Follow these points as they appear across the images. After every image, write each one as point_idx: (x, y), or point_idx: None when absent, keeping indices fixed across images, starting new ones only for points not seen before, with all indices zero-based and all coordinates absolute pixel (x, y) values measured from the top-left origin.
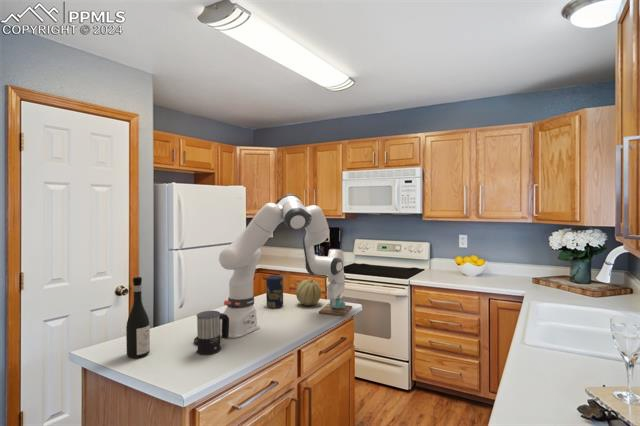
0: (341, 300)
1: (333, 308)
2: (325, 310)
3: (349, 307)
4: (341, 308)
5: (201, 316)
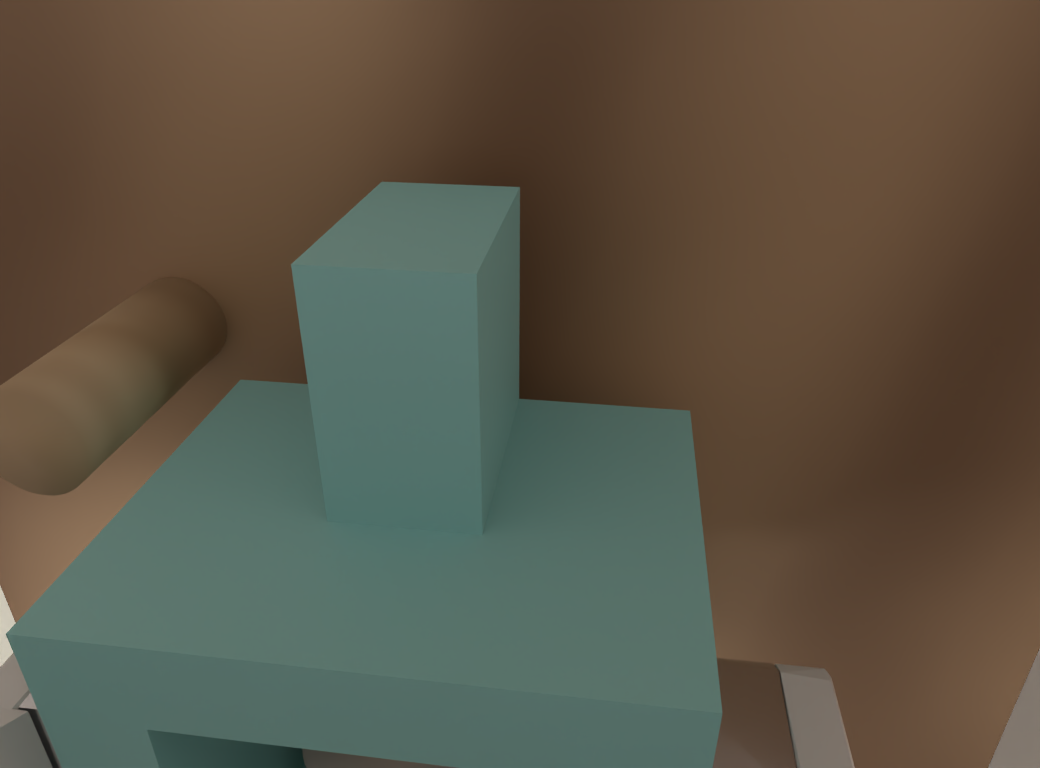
0: (195, 577)
1: None
2: None
3: (59, 27)
4: None
5: None
